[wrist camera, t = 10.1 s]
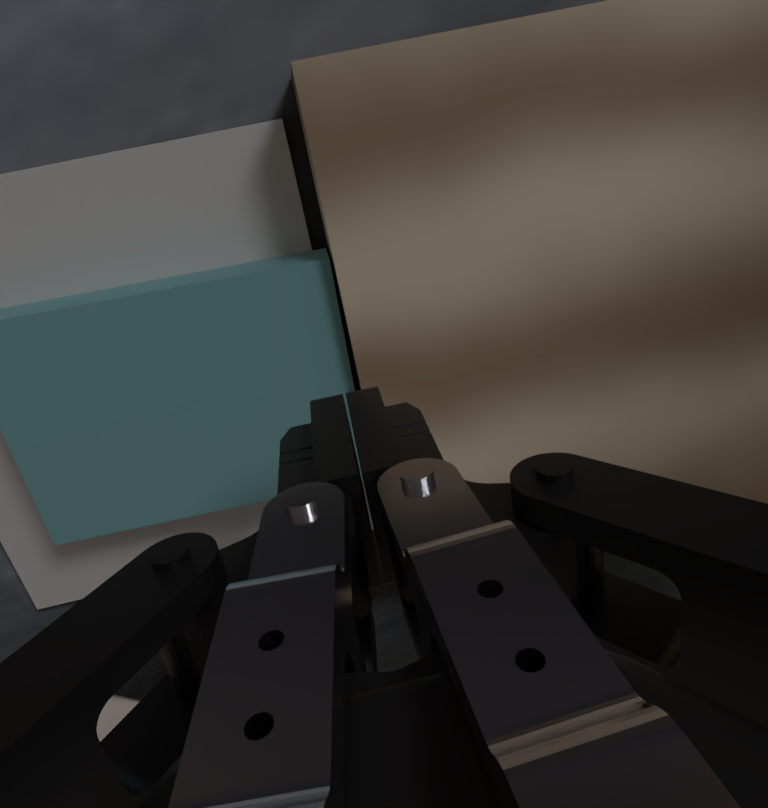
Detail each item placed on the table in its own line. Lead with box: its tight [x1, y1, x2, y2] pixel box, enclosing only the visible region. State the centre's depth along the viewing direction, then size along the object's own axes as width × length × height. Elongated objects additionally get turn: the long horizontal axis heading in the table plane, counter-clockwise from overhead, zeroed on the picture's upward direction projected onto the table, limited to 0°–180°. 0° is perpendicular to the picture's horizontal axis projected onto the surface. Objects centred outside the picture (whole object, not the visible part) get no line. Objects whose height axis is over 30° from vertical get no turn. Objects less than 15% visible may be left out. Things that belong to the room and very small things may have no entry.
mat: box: [0, 119, 374, 610], centre depth 19 cm, size 14×12×1 cm
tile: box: [0, 248, 363, 545], centre depth 18 cm, size 7×10×2 cm
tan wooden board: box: [291, 0, 768, 504], centre depth 19 cm, size 16×14×3 cm
